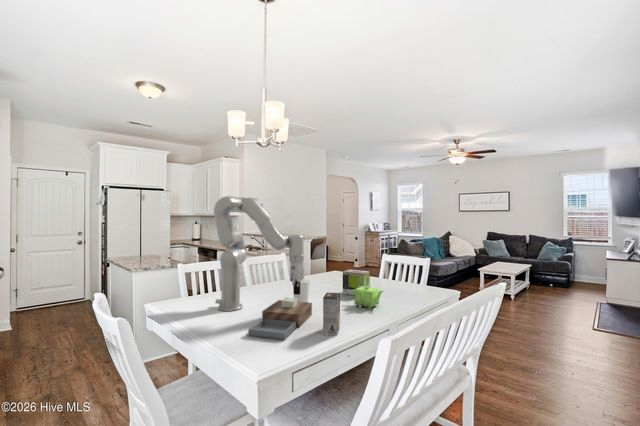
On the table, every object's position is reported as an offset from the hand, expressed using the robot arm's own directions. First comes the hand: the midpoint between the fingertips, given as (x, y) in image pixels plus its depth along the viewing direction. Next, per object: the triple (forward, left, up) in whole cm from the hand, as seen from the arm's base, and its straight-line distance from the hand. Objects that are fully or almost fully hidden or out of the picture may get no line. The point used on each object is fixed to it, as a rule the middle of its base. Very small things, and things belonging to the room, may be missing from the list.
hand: (296, 294), depth 170 cm
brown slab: (-1, -11, -10) cm, 15 cm away
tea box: (+23, +48, -10) cm, 54 cm away
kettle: (+33, +22, -10) cm, 41 cm away
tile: (-1, -9, -4) cm, 10 cm away
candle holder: (-5, +21, -10) cm, 24 cm away
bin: (-1, -30, -10) cm, 31 cm away
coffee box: (+23, -21, -10) cm, 33 cm away
